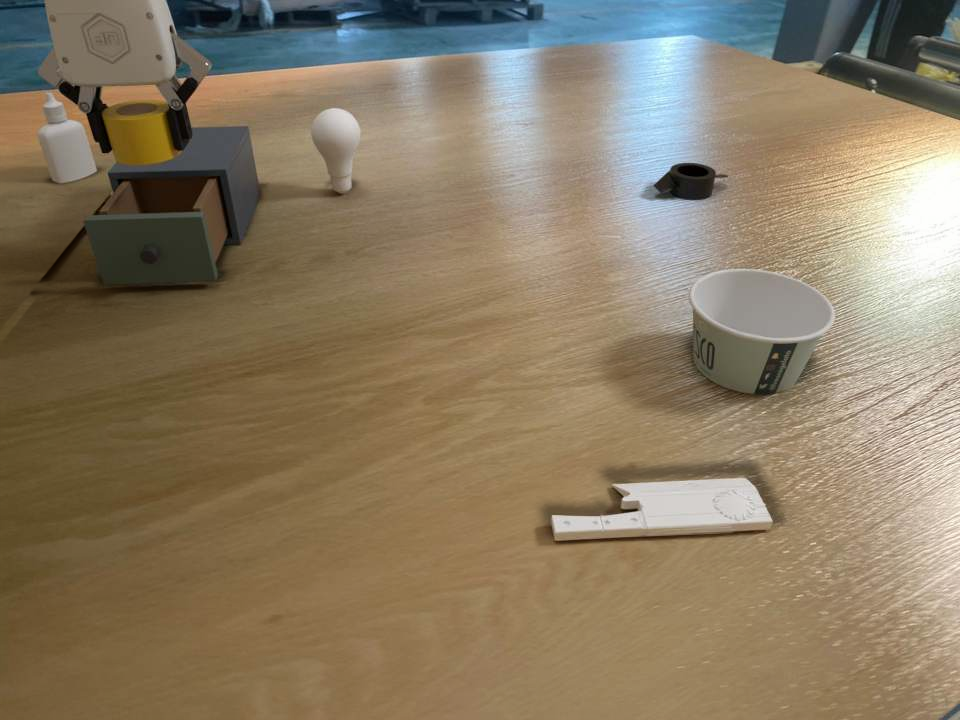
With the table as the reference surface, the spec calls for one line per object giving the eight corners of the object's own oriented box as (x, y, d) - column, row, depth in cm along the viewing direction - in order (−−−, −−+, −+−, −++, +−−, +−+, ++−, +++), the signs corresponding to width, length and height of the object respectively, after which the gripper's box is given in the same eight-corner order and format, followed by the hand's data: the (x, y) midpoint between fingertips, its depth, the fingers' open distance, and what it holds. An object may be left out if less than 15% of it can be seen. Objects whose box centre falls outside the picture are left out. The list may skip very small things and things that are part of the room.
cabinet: (240, 244, 88) (225, 169, 83) (129, 248, 87) (106, 172, 82) (260, 194, 100) (248, 125, 95) (162, 197, 99) (144, 128, 94)
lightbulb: (373, 195, 100) (366, 111, 94) (331, 206, 97) (321, 120, 91) (352, 180, 104) (344, 99, 98) (311, 190, 101) (300, 107, 95)
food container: (845, 390, 66) (867, 326, 62) (722, 415, 63) (737, 350, 59) (764, 319, 75) (780, 260, 71) (654, 338, 72) (664, 277, 68)
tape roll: (106, 167, 74) (91, 120, 71) (125, 144, 79) (113, 99, 77) (173, 164, 74) (161, 118, 72) (188, 141, 80) (178, 97, 77)
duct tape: (650, 178, 105) (653, 158, 103) (725, 183, 104) (729, 162, 102) (652, 201, 99) (655, 179, 97) (731, 206, 97) (735, 184, 96)
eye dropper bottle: (53, 181, 104) (23, 91, 97) (98, 174, 106) (71, 86, 99) (55, 193, 100) (24, 101, 94) (101, 185, 103) (74, 94, 96)
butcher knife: (544, 488, 56) (545, 477, 55) (745, 480, 57) (748, 469, 56) (554, 541, 52) (555, 529, 51) (770, 531, 52) (774, 520, 52)
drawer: (213, 286, 78) (198, 221, 74) (99, 291, 78) (78, 225, 73) (239, 225, 90) (227, 166, 86) (140, 228, 90) (124, 169, 85)
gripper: (-31, -47, 62) (43, 164, 73) (184, -51, 63) (227, 158, 74) (8, -59, 68) (71, 137, 79) (203, -62, 70) (241, 132, 80)
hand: (146, 145), depth 76 cm, fingers closed on tape roll, 6 cm apart
